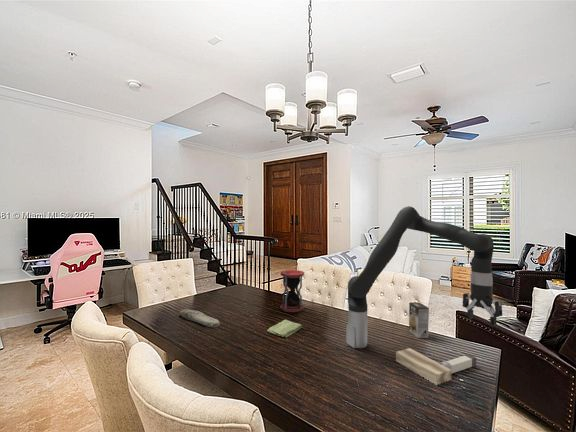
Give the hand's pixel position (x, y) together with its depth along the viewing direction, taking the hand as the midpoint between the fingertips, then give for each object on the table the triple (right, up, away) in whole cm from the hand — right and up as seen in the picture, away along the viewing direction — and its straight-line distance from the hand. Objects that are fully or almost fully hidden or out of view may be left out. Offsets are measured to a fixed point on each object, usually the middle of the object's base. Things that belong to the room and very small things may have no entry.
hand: (481, 322), depth 117 cm
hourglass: (-77, -20, +78) cm, 111 cm away
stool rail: (-24, -20, +2) cm, 31 cm away
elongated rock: (-133, -20, +55) cm, 146 cm away
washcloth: (-81, -20, +41) cm, 93 cm away
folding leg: (-8, -20, +2) cm, 22 cm away
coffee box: (-9, -21, +37) cm, 44 cm away
